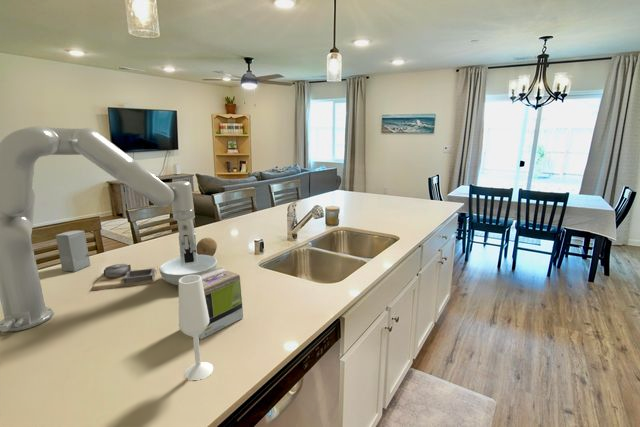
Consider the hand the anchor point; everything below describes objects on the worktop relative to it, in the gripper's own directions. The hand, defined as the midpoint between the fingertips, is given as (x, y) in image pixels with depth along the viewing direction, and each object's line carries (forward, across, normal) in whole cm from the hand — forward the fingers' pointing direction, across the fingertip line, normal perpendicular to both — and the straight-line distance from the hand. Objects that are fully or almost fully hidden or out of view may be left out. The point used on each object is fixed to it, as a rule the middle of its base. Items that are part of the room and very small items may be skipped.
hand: (189, 259), depth 130 cm
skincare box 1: (+8, +29, +47) cm, 56 cm away
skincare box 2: (+2, 0, 0) cm, 2 cm away
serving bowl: (+9, 0, +1) cm, 9 cm away
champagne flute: (+8, -57, -3) cm, 57 cm away
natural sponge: (+9, +21, -6) cm, 24 cm away
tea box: (+9, -36, -7) cm, 37 cm away
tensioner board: (+8, +8, +24) cm, 27 cm away
